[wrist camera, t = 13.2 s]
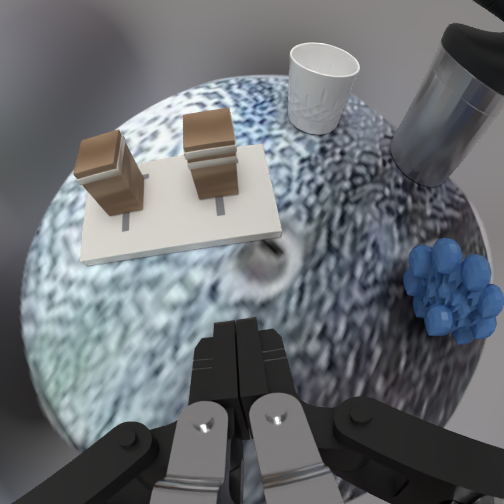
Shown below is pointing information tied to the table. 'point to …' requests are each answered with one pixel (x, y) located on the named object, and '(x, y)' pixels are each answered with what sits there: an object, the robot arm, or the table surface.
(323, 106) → the white cup
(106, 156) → the one band post
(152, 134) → the table surface
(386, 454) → the robot arm
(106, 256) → the white rectangular board
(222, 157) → the two band post
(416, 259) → the grapes
